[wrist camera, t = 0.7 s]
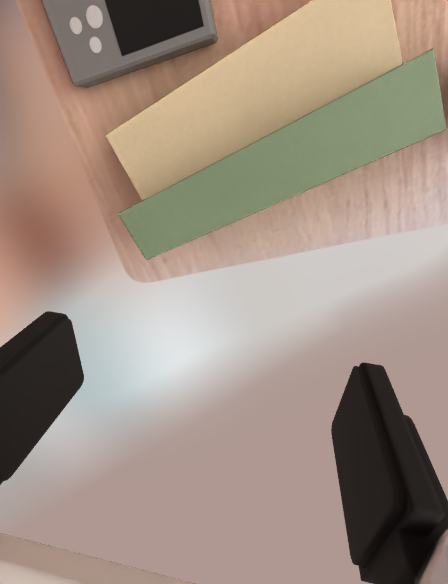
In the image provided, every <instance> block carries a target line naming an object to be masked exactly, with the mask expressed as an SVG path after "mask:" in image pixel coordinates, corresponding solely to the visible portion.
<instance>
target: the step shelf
mask: <svg viewBox="0 0 448 584" xmlns="http://www.w3.org/2000/svg"><path fill="white" fill-rule="evenodd" d="M445 129H446V124H445V117H444V111H443V104H442V98H441V92H440V85H439V79H438V73H437V66H436V60H435V53H434V49H431V50H429V51H427V52H425V53H423V54H421V55H419V56H417V57H416V58H414V59H412V60H410V61H408V62H406V63H404V64H403V62H402V57H401V52H400V46H399V41H398V36H397V31H396V26H395V21H394V16H393V10H392V5H391V0H312V1H310V2H309V3H307V4H306V5H304V6H302V7H301V8H299V9H298V10H296V11H295V12H293V13H292V14H290V15H289V16H287V17H286V18H284V19H283V20H281V21H280V22H278V23H276V24H275V25H273V26H272V27H270V28H269V29H267V30H266V31H264V32H263V33H261V34H260V35H258V36H257V37H255V38H254V39H252V40H251V41H249V42H247V43H246V44H244V45H243V46H241V47H240V48H238V49H237V50H235V51H234V52H232V53H231V54H229V55H228V56H226V57H225V58H223V59H221V60H220V61H218V62H217V63H215V64H214V65H212V66H211V67H209V68H208V69H206V70H205V71H203V72H202V73H200V74H199V75H197V76H195V77H194V78H192V79H191V80H189V81H188V82H186V83H185V84H183V85H182V86H180V87H179V88H177V89H176V90H174V91H173V92H171V93H170V94H168V95H166V96H165V97H163V98H162V99H160V100H159V101H157V102H156V103H154V104H153V105H151V106H150V107H148V108H147V109H145V110H144V111H142V112H140V113H139V114H137V115H136V116H134V117H133V118H131V119H130V120H128V121H127V122H125V123H124V124H122V125H121V126H119V127H118V128H116V129H115V130H113V131H111V132H110V133H108V134H107V135H106V138H107V139H108V141H109V143H110V145H111V146H112V148H113V150H114V152H115V153H116V155H117V157H118V159H119V160H120V162H121V164H122V166H123V167H124V169H125V171H126V173H127V174H128V176H129V178H130V180H131V181H132V183H133V185H134V187H135V188H136V190H137V192H138V194H139V195H140V197H141V199H142V201H141V202H139V203H137V204H135V205H133V206H132V207H130V208H128V209H126V210H124V211H122V212H120V213H119V214H118V215H119V216H120V218H121V220H122V221H123V223H124V225H125V226H126V228H127V230H128V231H129V233H130V234H131V236H132V238H133V239H134V241H135V243H136V244H137V246H138V248H139V249H140V251H141V252H142V254H143V256H144V257H145V259H146V260H148V259H150V258H152V257H155V256H157V255H159V254H162V253H164V252H166V251H169V250H171V249H173V248H175V247H178V246H180V245H182V244H185V243H187V242H189V241H191V240H194V239H196V238H198V237H201V236H203V235H205V234H208V233H210V232H212V231H214V230H217V229H219V228H221V227H224V226H226V225H228V224H230V223H233V222H235V221H237V220H240V219H242V218H244V217H247V216H249V215H251V214H253V213H256V212H258V211H260V210H263V209H265V208H267V207H269V206H272V205H274V204H276V203H279V202H281V201H283V200H286V199H288V198H290V197H292V196H295V195H297V194H299V193H302V192H304V191H306V190H308V189H311V188H313V187H315V186H318V185H320V184H322V183H325V182H327V181H329V180H331V179H334V178H336V177H338V176H341V175H343V174H345V173H347V172H350V171H352V170H354V169H357V168H359V167H361V166H363V165H366V164H368V163H370V162H373V161H375V160H377V159H380V158H382V157H384V156H386V155H389V154H391V153H393V152H396V151H398V150H400V149H402V148H405V147H407V146H409V145H412V144H414V143H416V142H419V141H421V140H423V139H425V138H428V137H430V136H432V135H435V134H437V133H439V132H441V131H444V130H445Z"/></svg>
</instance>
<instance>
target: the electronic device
mask: <svg viewBox="0 0 448 584" xmlns="http://www.w3.org/2000/svg"><path fill="white" fill-rule="evenodd" d="M41 1H42V4H43V6H44V9H45V11H46V14H47V17H48V19H49V22H50V25H51V27H52V30H53V32H54V35H55V38H56V40H57V43H58V46H59V48H60V51H61V54H62V56H63V59H64V61H65V64H66V67H67V69H68V72H69V75H70V77H71V80H72V82H73V84H74V85H75V86H78V87H83V88H88V87H91V86H93V85H96V84H99V83H102V82H105V81H108V80H111V79H113V78H116V77H119V76H122V75H125V74H128V73H130V72H133V71H136V70H139V69H142V68H145V67H147V66H150V65H153V64H156V63H159V62H162V61H165V60H167V59H170V58H173V57H176V56H179V55H182V54H184V53H187V52H190V51H193V50H196V49H199V48H202V47H204V46H207V45H210V44H213V43H216V41H217V39H218V37H217V32H216V27H215V21H214V16H213V11H212V6H211V0H41Z"/></svg>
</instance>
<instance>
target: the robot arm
mask: <svg viewBox="0 0 448 584" xmlns="http://www.w3.org/2000/svg"><path fill="white" fill-rule="evenodd" d="M83 380H84V374H83V370H82V366H81V361H80V357H79V352H78V348H77V344H76V339H75V334H74V330H73V326H72V322H71V320H70V319H68V317H67V315H65V314H62V313H55V312H45V313H43V314H42V315H41V316H40V317H38V318H37V319H36V320H35V321H33V322H32V323H31V324H30V325H28V326H27V327H26V328H24V329H23V330H22V331H21V332H19V333H18V334H17V335H16V336H14V337H13V338H12V339H10V340H9V341H8V342H7V343H5V344H4V345H3V346H2V347H0V484H1V483H2V482H3V481H5V480H8V479H9V478H10V477H11V476H12V475H13V473H14V472H15V471H16V470H17V468H18V467H19V466H20V465H21V463H22V462H23V461H24V459H25V458H26V457H27V455H28V454H29V453H30V452H31V450H32V449H33V448H34V446H35V445H36V444H37V443H38V441H39V440H40V439H41V437H42V436H43V435H44V434H45V432H46V431H47V430H48V428H49V427H50V426H51V424H52V423H53V422H54V421H55V419H56V418H57V417H58V415H59V414H60V413H61V411H62V410H63V409H64V408H65V406H66V405H67V404H68V402H69V401H70V400H71V399H72V397H73V396H74V395H75V393H76V392H77V391H78V390H79V388H80V387H81V385H82V383H83ZM331 431H332V439H333V446H334V453H335V459H336V466H337V472H338V479H339V485H340V491H341V497H342V504H343V511H344V517H345V523H346V530H347V536H348V542H349V549H350V555H351V559H352V562H353V564H355V565H359V570H360V575H361V581H365V582H369V583H373V584H448V500H447V498H446V496H445V493H444V491H443V489H442V486H441V484H440V482H439V480H438V477H437V475H436V473H435V470H434V468H433V466H432V464H431V461H430V459H429V457H428V454H427V452H426V450H425V448H424V445H423V443H422V441H421V438H420V436H419V434H418V432H417V429H416V427H415V425H414V423H413V421H412V419H411V418H410V417H409V416H406V415H404V414H403V412H402V409H401V407H400V405H399V402H398V400H397V397H396V395H395V393H394V390H393V388H392V385H391V383H390V381H389V378H388V376H387V373H386V371H385V369H384V367H383V366H381V365H374V364H369V363H361V364H360V366H359V367H358V366H354V367H353V369H352V372H351V375H350V378H349V380H348V383H347V385H346V388H345V391H344V393H343V396H342V399H341V401H340V404H339V407H338V409H337V412H336V415H335V417H334V420H333V423H332V430H331ZM0 584H194V583H190V582H186V581H183V580H179V579H175V578H172V577H168V576H164V575H160V574H157V573H152V572H148V571H145V570H141V569H137V568H133V567H129V566H126V565H122V564H118V563H114V562H111V561H106V560H103V559H99V558H95V557H91V556H88V555H84V554H80V553H76V552H71V551H68V550H64V549H61V548H56V547H52V546H49V545H45V544H41V543H37V542H33V541H29V540H26V539H21V538H17V537H13V536H10V535H6V534H2V533H0Z"/></svg>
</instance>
